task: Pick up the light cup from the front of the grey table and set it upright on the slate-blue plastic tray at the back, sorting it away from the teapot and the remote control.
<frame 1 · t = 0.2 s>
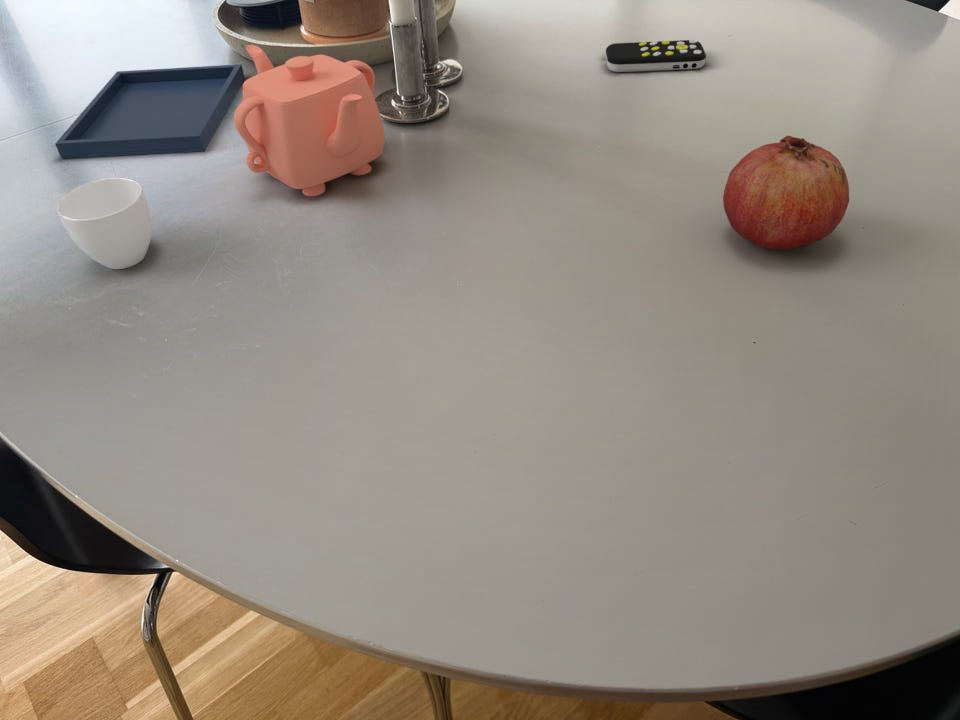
cup: (122, 254, 82), on the table
remote control: (654, 64, 109), on the table
teapot: (322, 171, 92), on the table
tray: (159, 115, 106), on the table
fruit: (775, 241, 77), on the table
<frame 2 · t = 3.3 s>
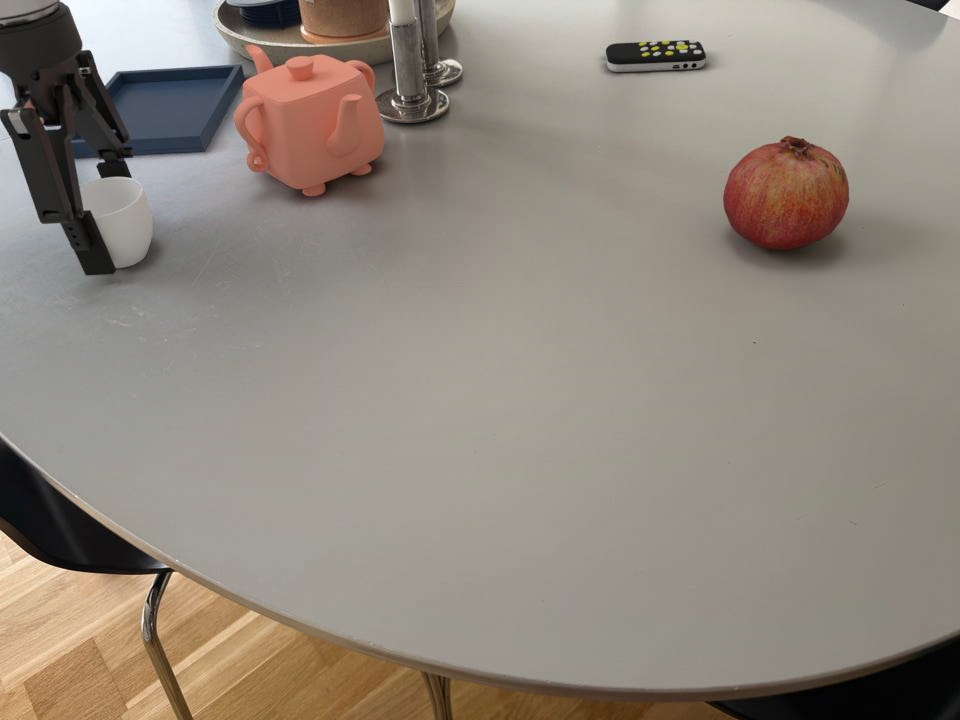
hand: (118, 245, 81), 1 cm above the table, tool pointing down, fingers closed on cup, 9 cm apart
cup: (123, 253, 82), on the table, touching gripper
everything else where it was.
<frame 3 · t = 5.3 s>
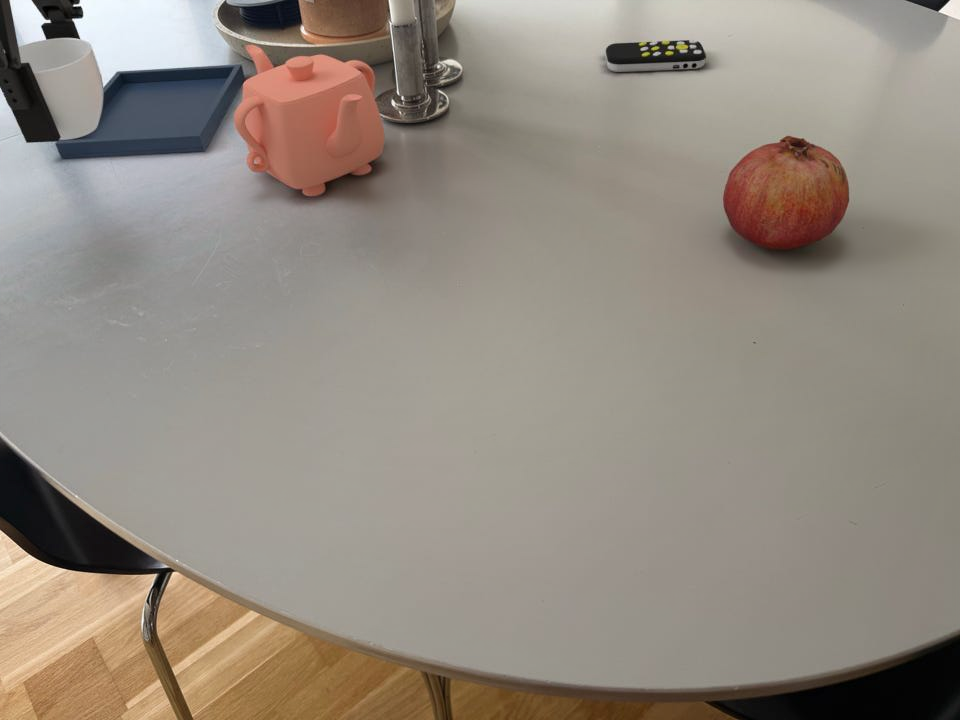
hand: (65, 115, 73), 14 cm above the table, tool pointing down, fingers closed on cup, 9 cm apart
cup: (71, 126, 75), point 13 cm above the table, touching gripper
everything else where it was.
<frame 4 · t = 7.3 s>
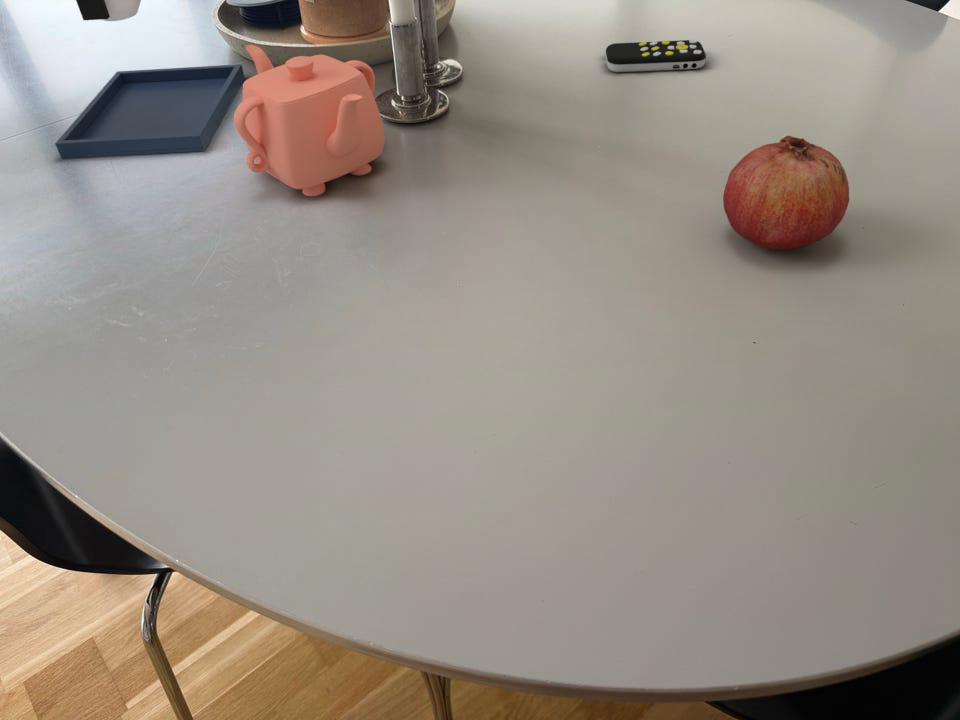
hand: (112, 4, 93), 15 cm above the table, tool pointing down, fingers closed on cup, 9 cm apart
cup: (116, 14, 94), point 14 cm above the table, touching gripper
everything else where it was.
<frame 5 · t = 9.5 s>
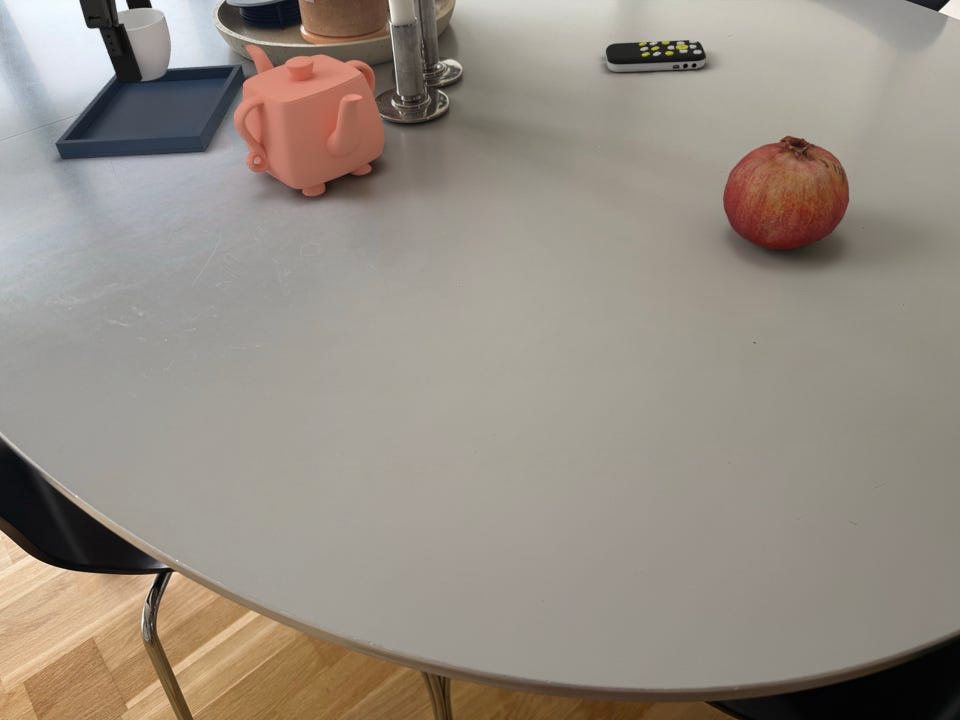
hand: (142, 64, 102), 7 cm above the table, tool pointing down, fingers closed on cup, 9 cm apart
cup: (147, 73, 103), point 5 cm above the table, touching gripper
everything else where it was.
when the fingers open (2 cm above the table, at t = 11.2 s): cup stays where it is, resting on tray.
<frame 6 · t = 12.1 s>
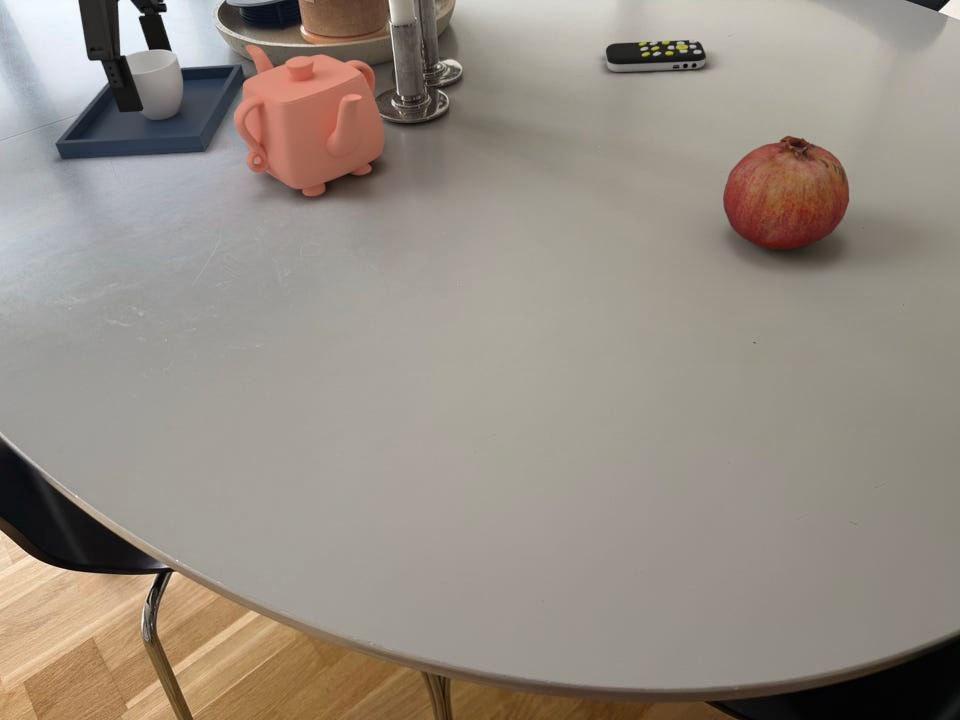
hand: (149, 87, 104), 4 cm above the table, tool pointing down, fingers open, 13 cm apart
cup: (159, 111, 106), resting on tray
everything else where it was.
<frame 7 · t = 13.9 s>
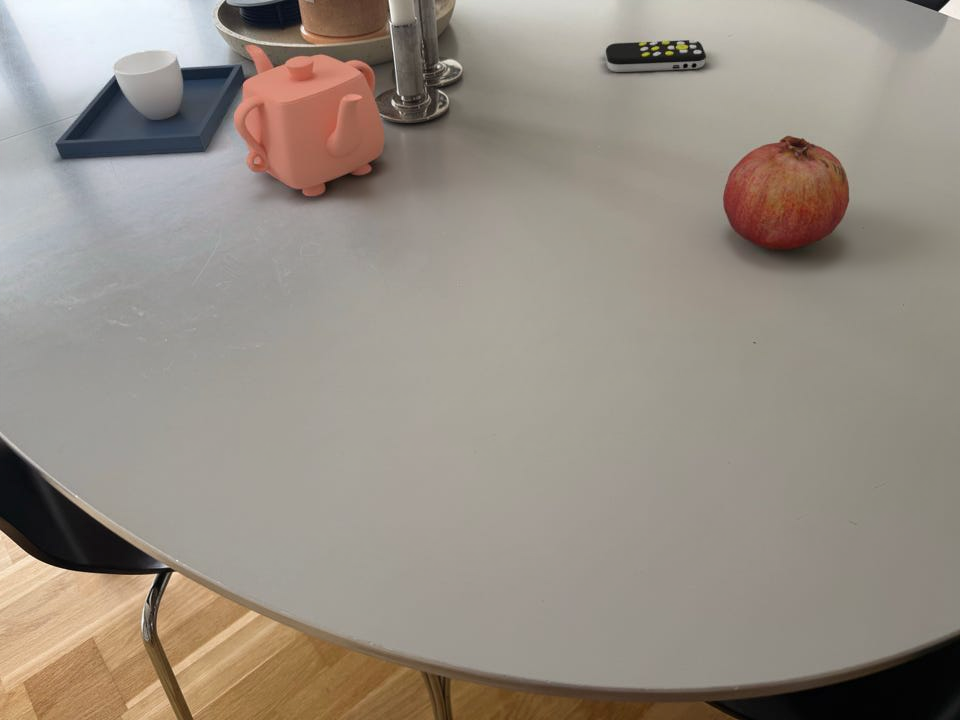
nothing on the table moved.
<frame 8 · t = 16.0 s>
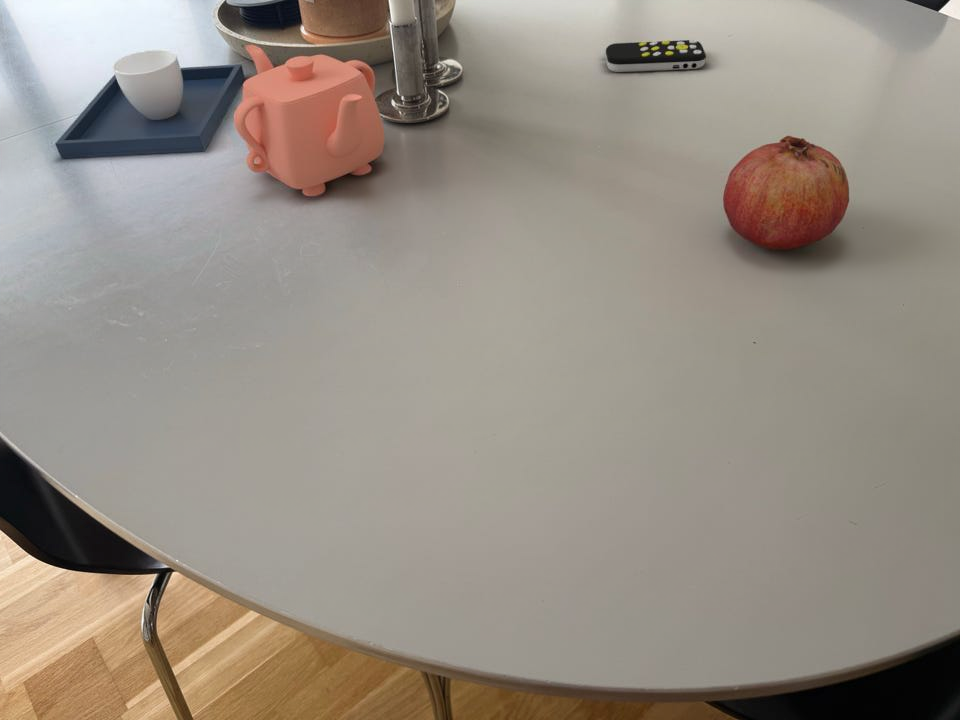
nothing on the table moved.
at the end: cup inside the target area in the tray (0.5 cm from its centre), point 0.3 cm above the tray's base; cup tilted 0°; the gripper is holding nothing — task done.
